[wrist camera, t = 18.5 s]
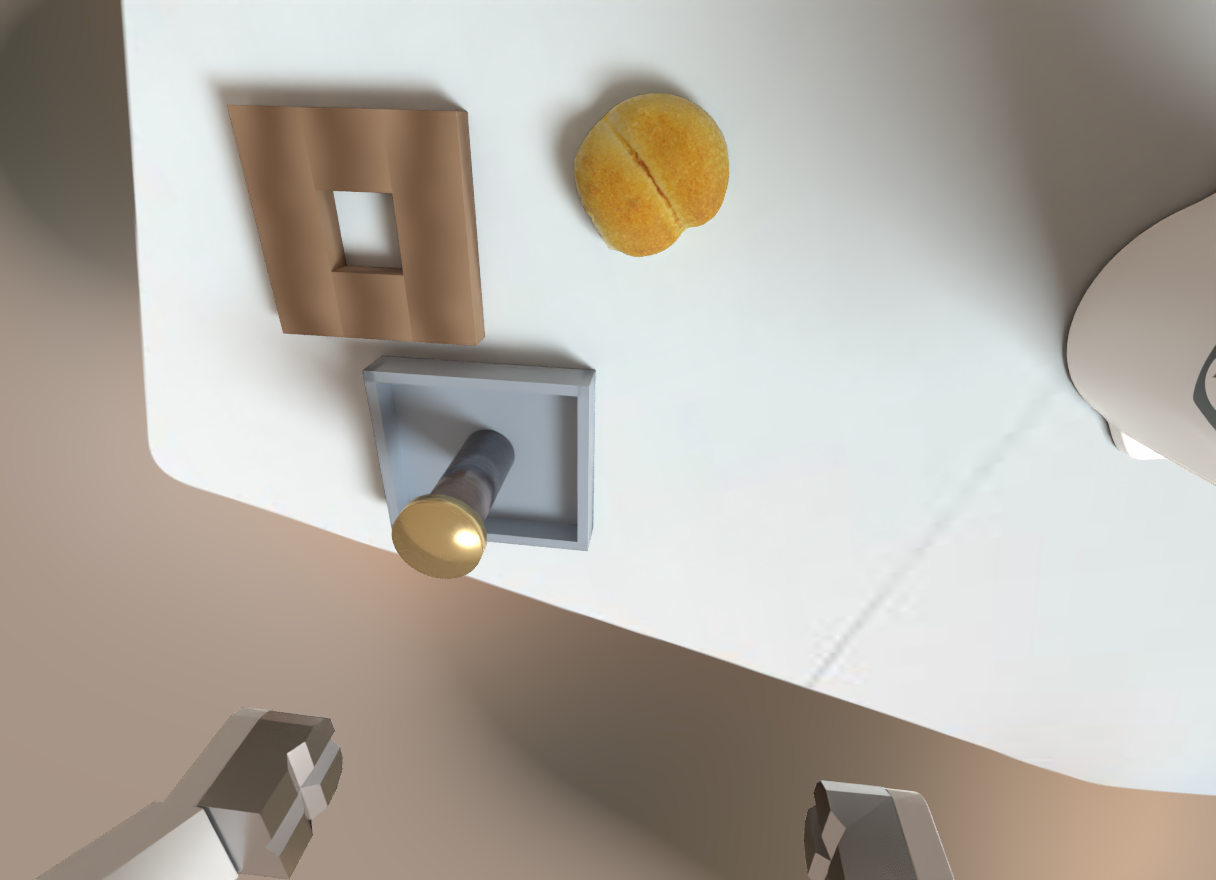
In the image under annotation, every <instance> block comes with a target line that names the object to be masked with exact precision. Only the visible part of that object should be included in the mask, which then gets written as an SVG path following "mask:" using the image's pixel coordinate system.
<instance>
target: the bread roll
mask: <svg viewBox="0 0 1216 880" xmlns="http://www.w3.org/2000/svg"><path fill="white" fill-rule="evenodd" d="M574 177H575V181H576V187H577V193H578V195H579V196H580V198H581V201H582V205H583V207H584V209H585V212H586V213H587V214H588V215H589V216H590V218H591V220H592V222H593V224H594V225H595V227H596V229H597V230H598V231H599V234H600V235H601V237H602V239H603V241H604V242H605V243H606V245H607V247H608V248H609V249H610V250H616V251H620V252H623V253H625V254H627V255H630V256H634V257H643V256H648V255H653V254H657V253H659V252H661V251H664V250H665V249H667V248H668V247H670V246H671V245H672V244H673V243H674V242H675V241H676V240H677V239H678V238H679V236H680V235H681V233H682V232H683V231H685V230H686V229H688V228H690V227H697V226H700V225H703V224H705V223H706V222H708V221H709V220H710V219H712V218H713V217H714V216H715V215H716V213H717V212H718V210H719V209H720V207H721V205H722V203H723V200H724V196H725V193H726V189H727V185H728V178H729V160H728V151H727V145H726V142H725V139H724V136H723V134H722V132H721V130H720V129H719V127H718V126H717V124H716V122H715V121H714V120H713V118H712V117H711V116H710V115H709V114H708V113H707V112H706V111H705V110H703V109H702V108H701V107H699V106H698V105H696V104H695V103H692V102H690V101H689V100H687V99H685V98H682V97H680V96H676V95H671V94H663V93H649V94H643V95H637V96H634V97H631V98H628V99H626V100H624V101H622V102H621V103H619V104H617V105H616V106H614V107H613V108H612V109H611V110H610V111H609V112H608V113H607V114H606V115H605V116H604V117H603V118H602V119H601V120H600V121H598V122H597V123H596V124H595V126H594V127H593V128H592V129H591V130H590V131H589V133H588V134H587V136H586V138H585V139H584V141H583V142H582V144H581V146H580V148H579V150H578V153H577V155H576V157H575V160H574Z"/></svg>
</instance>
